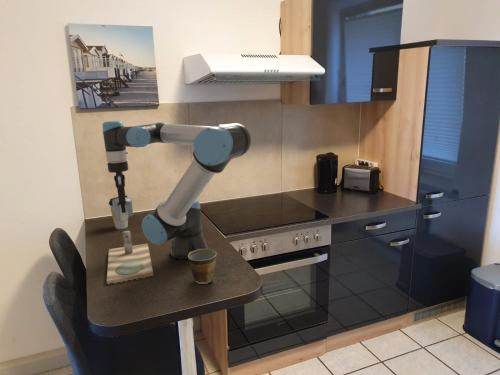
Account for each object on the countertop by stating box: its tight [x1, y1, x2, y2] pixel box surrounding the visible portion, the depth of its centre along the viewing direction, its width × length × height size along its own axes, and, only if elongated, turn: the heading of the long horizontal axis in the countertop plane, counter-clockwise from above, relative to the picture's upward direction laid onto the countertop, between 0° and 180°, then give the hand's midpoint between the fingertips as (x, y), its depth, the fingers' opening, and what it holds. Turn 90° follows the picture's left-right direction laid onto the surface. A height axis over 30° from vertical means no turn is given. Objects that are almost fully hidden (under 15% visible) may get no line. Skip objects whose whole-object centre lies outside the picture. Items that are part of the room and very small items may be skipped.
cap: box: [112, 196, 134, 218], centre depth 154 cm, size 7×7×7 cm
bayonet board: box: [106, 230, 154, 285], centre depth 151 cm, size 30×16×10 cm, turn 18°
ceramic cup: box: [187, 248, 217, 282], centre depth 136 cm, size 13×10×10 cm
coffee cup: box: [108, 196, 129, 230], centre depth 193 cm, size 9×9×15 cm
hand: (124, 216), depth 155 cm, fingers closed on cap, 7 cm apart
